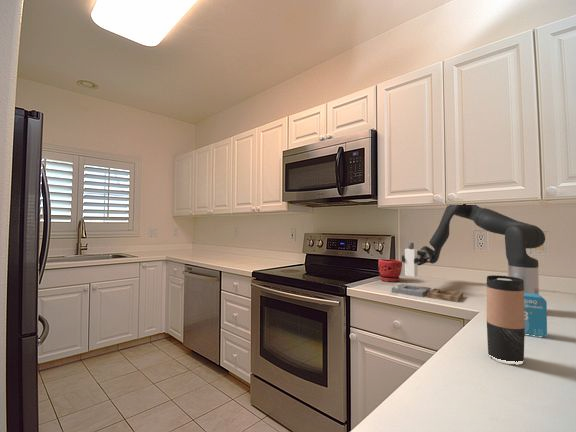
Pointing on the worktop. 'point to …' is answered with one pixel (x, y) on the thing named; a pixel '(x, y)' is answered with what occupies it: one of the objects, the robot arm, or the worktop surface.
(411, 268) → the plug
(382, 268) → the plant pot
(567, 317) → the worktop surface
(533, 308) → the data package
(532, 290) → the robot arm
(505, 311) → the travel mug
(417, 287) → the port plate
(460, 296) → the brown square frame
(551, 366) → the worktop surface
